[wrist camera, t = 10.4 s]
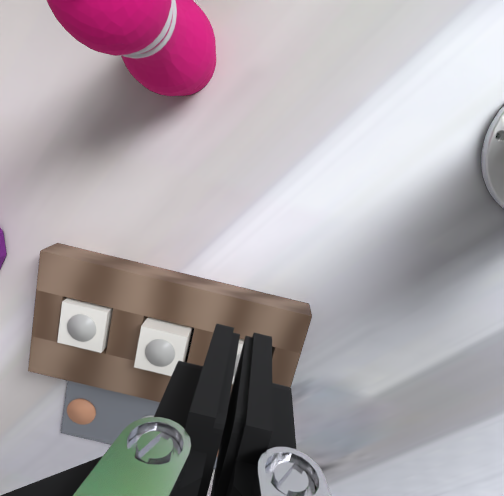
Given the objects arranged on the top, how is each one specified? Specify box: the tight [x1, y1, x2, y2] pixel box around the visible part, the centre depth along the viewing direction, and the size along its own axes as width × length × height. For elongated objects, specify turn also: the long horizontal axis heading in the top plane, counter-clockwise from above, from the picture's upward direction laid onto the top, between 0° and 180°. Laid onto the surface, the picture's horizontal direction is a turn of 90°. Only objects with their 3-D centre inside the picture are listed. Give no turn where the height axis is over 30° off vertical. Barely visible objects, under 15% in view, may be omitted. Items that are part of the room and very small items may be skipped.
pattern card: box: [61, 381, 219, 469], centre depth 44 cm, size 20×7×1 cm, turn 77°
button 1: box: [57, 298, 113, 353], centre depth 39 cm, size 4×4×3 cm
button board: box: [28, 243, 312, 402], centre depth 40 cm, size 26×13×3 cm, turn 77°
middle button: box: [134, 317, 193, 376], centre depth 38 cm, size 4×4×3 cm
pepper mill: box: [47, 0, 216, 96], centre depth 25 cm, size 7×7×20 cm
